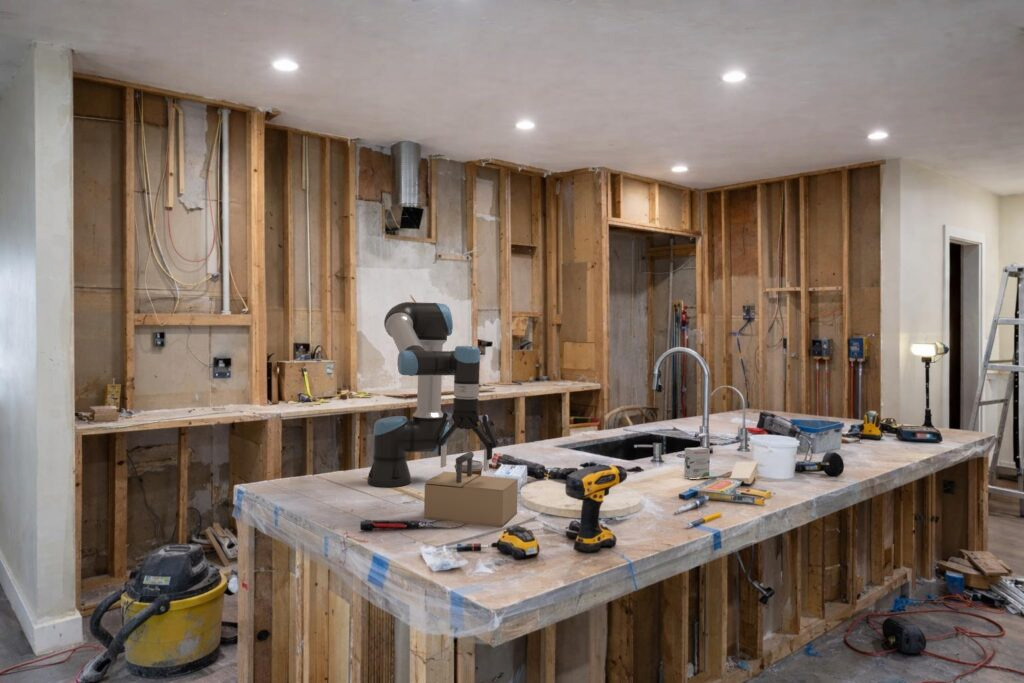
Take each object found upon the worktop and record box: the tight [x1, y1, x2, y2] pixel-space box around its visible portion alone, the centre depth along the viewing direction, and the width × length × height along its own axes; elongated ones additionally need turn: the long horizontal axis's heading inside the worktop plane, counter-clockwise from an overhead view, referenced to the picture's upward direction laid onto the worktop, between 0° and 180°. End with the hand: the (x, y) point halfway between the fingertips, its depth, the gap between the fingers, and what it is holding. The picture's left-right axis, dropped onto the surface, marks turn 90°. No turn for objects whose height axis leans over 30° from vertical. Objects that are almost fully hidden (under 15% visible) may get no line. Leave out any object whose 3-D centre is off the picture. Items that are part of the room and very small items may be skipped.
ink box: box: [683, 446, 711, 479], centre depth 264 cm, size 9×5×12 cm, turn 112°
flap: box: [424, 451, 479, 487], centre depth 205 cm, size 15×12×8 cm
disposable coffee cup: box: [454, 459, 484, 476], centre depth 224 cm, size 10×10×12 cm
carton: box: [423, 475, 519, 528], centre depth 204 cm, size 15×24×11 cm, turn 74°
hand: (464, 468), depth 204 cm, fingers open, 13 cm apart
